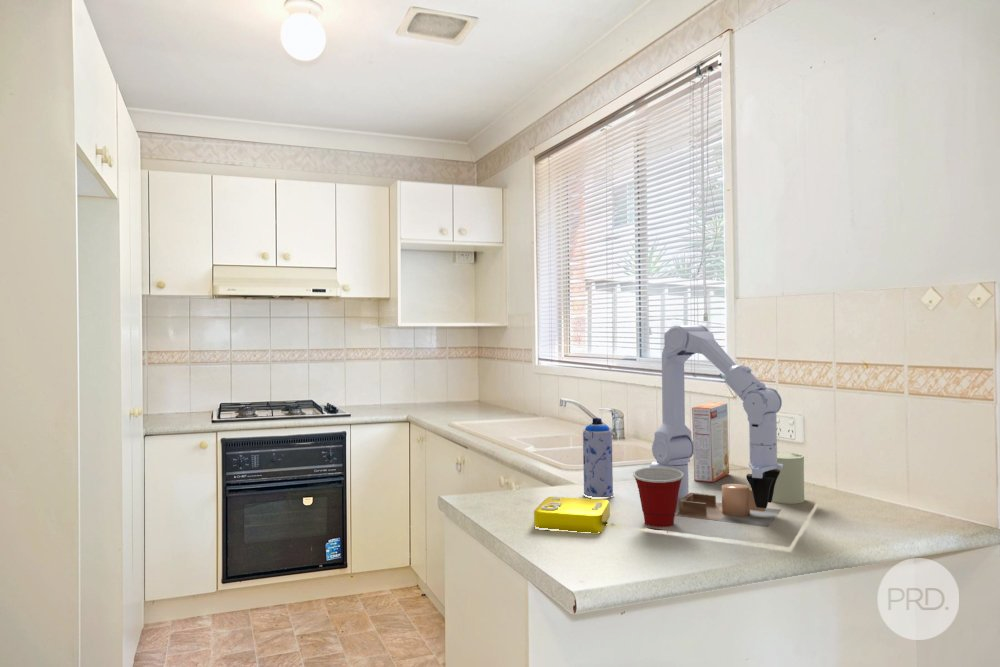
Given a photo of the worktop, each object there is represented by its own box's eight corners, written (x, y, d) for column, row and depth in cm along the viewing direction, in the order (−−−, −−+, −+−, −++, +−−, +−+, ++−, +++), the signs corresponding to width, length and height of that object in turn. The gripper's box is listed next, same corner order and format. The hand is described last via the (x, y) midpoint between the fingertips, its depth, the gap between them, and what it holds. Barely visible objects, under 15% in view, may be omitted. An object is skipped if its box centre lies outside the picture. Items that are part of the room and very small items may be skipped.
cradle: (694, 503, 173) (694, 489, 173) (781, 512, 163) (780, 498, 163) (674, 518, 160) (674, 504, 160) (768, 530, 149) (767, 514, 149)
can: (809, 507, 168) (808, 456, 167) (768, 506, 169) (767, 456, 169) (800, 498, 177) (799, 450, 176) (761, 497, 178) (760, 449, 178)
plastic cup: (628, 531, 150) (627, 475, 150) (638, 518, 160) (637, 465, 160) (681, 536, 146) (680, 478, 146) (687, 522, 156) (687, 468, 156)
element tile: (601, 536, 149) (601, 513, 148) (531, 531, 153) (531, 509, 153) (611, 518, 163) (610, 497, 163) (547, 514, 167) (547, 494, 167)
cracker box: (709, 472, 210) (708, 401, 210) (730, 474, 207) (728, 402, 207) (692, 480, 199) (690, 406, 199) (713, 483, 195) (712, 407, 195)
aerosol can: (585, 491, 188) (584, 416, 188) (615, 492, 186) (614, 416, 186) (580, 498, 180) (579, 419, 180) (611, 499, 178) (610, 420, 178)
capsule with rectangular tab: (725, 508, 165) (725, 482, 165) (767, 513, 160) (767, 486, 160) (719, 514, 159) (718, 488, 159) (762, 519, 155) (762, 492, 155)
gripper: (776, 449, 149) (777, 514, 149) (787, 440, 161) (788, 499, 161) (741, 447, 153) (742, 510, 153) (755, 438, 165) (756, 496, 165)
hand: (764, 504), depth 157 cm, fingers open, 5 cm apart
